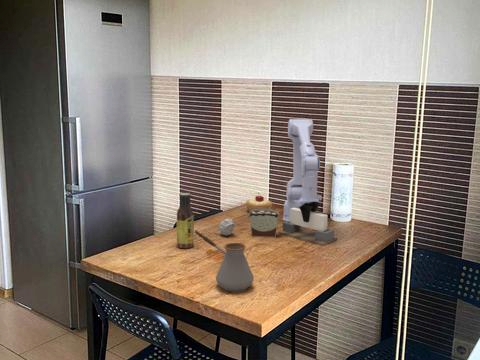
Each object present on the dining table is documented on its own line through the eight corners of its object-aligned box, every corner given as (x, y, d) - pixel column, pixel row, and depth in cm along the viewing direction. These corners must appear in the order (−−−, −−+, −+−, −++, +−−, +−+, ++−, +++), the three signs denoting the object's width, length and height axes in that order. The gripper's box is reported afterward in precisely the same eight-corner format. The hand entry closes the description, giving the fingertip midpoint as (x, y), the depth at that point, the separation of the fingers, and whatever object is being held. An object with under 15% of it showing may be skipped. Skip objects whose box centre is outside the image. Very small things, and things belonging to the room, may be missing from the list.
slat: (289, 223, 213) (290, 208, 212) (293, 222, 215) (293, 207, 213) (323, 231, 202) (323, 216, 201) (327, 230, 204) (327, 215, 203)
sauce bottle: (191, 249, 193) (190, 196, 189) (174, 248, 194) (173, 195, 190) (196, 244, 199) (195, 192, 195) (180, 242, 201) (179, 191, 196)
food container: (279, 233, 214) (280, 208, 212) (279, 237, 208) (280, 213, 206) (249, 231, 215) (249, 207, 213) (248, 236, 209) (248, 211, 207)
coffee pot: (260, 284, 163) (261, 237, 160) (239, 297, 153) (240, 248, 150) (205, 269, 174) (205, 225, 171) (182, 281, 165) (182, 234, 162)
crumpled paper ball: (225, 239, 205) (225, 221, 204) (215, 234, 211) (215, 217, 210) (238, 236, 209) (238, 219, 208) (228, 231, 214) (228, 215, 213)
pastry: (250, 216, 238) (250, 196, 236) (242, 209, 249) (243, 190, 247) (275, 214, 241) (276, 195, 239) (267, 207, 252) (267, 189, 251)
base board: (279, 233, 213) (279, 231, 212) (294, 228, 220) (294, 226, 220) (322, 245, 199) (322, 243, 199) (337, 239, 206) (337, 237, 206)
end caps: (282, 230, 214) (282, 222, 213) (291, 227, 218) (291, 219, 217) (325, 242, 200) (325, 233, 200) (334, 238, 205) (334, 229, 204)
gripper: (307, 191, 197) (305, 226, 200) (328, 185, 208) (327, 219, 211) (291, 188, 202) (290, 223, 205) (313, 183, 212) (312, 215, 215)
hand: (308, 220), depth 208 cm, fingers closed on slat, 2 cm apart
